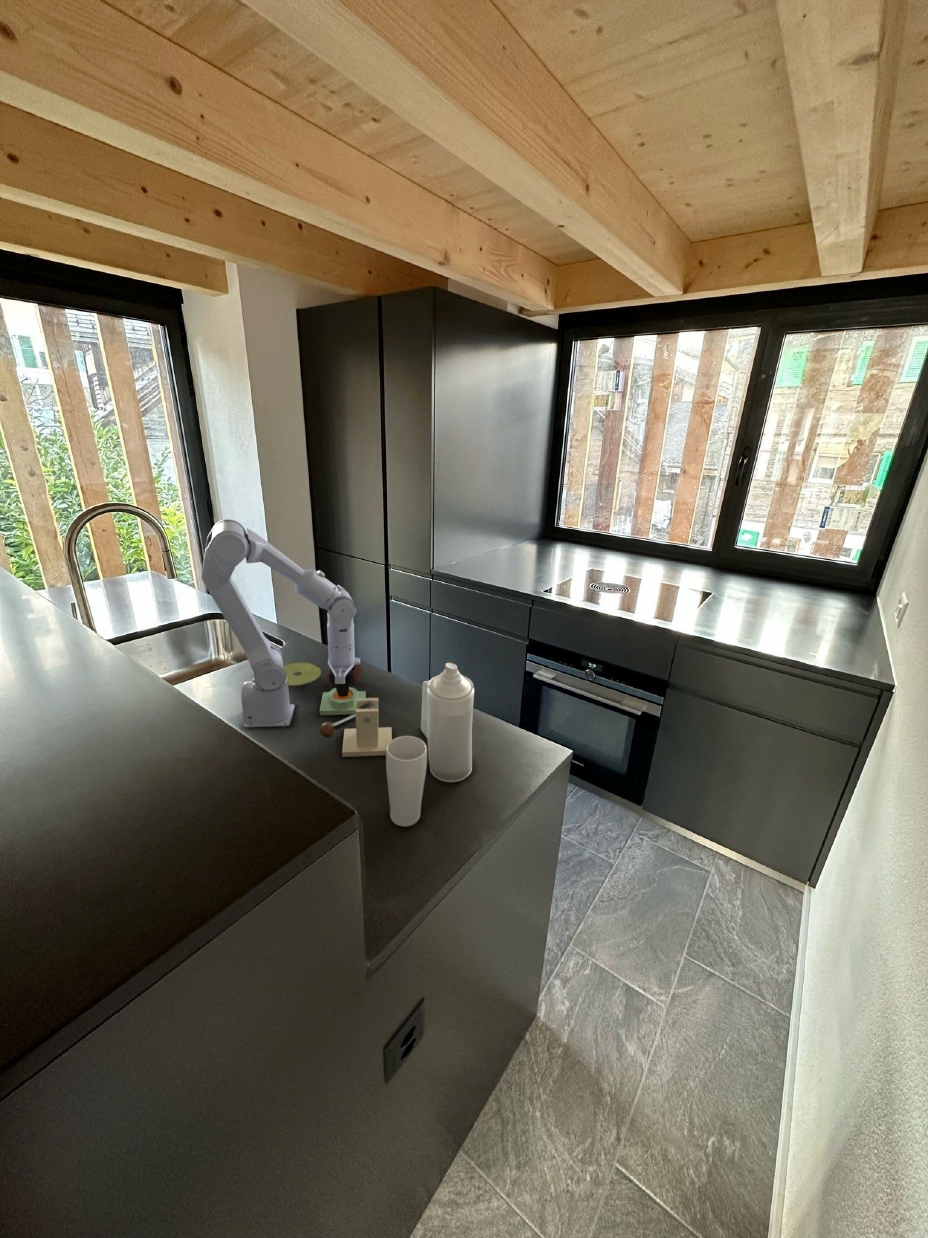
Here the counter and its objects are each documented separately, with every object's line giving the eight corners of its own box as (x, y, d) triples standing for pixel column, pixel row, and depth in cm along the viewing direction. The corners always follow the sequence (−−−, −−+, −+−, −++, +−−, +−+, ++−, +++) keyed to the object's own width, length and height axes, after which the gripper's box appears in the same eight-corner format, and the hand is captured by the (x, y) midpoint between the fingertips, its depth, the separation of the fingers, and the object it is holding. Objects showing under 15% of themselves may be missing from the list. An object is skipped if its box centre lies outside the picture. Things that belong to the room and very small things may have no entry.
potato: (320, 686, 128) (319, 664, 125) (350, 670, 136) (349, 650, 133) (341, 696, 124) (340, 674, 122) (370, 679, 132) (370, 658, 130)
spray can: (484, 786, 99) (495, 673, 89) (431, 797, 95) (436, 681, 85) (463, 749, 109) (471, 644, 99) (414, 758, 105) (417, 650, 95)
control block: (319, 715, 117) (319, 704, 115) (323, 696, 124) (322, 685, 123) (364, 714, 118) (364, 703, 117) (365, 695, 125) (365, 684, 124)
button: (333, 705, 118) (333, 699, 118) (335, 695, 122) (335, 690, 121) (351, 704, 119) (351, 699, 118) (352, 695, 123) (352, 689, 122)
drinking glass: (418, 835, 87) (421, 764, 81) (380, 827, 88) (380, 756, 82) (428, 806, 93) (432, 739, 87) (393, 799, 94) (393, 732, 88)
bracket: (342, 757, 104) (340, 716, 100) (344, 733, 111) (343, 694, 107) (392, 755, 106) (392, 715, 102) (391, 731, 113) (391, 693, 109)
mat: (314, 665, 137) (314, 659, 136) (326, 685, 128) (326, 679, 127) (270, 674, 132) (269, 667, 131) (279, 695, 123) (279, 688, 122)
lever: (324, 743, 105) (316, 732, 103) (325, 733, 108) (317, 722, 106) (377, 719, 104) (369, 707, 103) (377, 710, 107) (369, 699, 106)
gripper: (358, 657, 108) (359, 711, 114) (360, 628, 122) (361, 678, 127) (323, 658, 107) (326, 712, 113) (330, 628, 120) (332, 679, 126)
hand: (343, 694), depth 120 cm, fingers closed, pressing on button
